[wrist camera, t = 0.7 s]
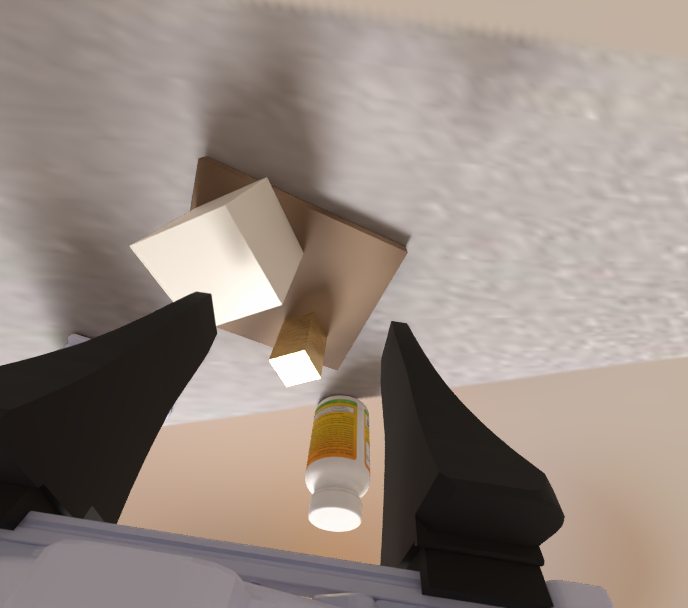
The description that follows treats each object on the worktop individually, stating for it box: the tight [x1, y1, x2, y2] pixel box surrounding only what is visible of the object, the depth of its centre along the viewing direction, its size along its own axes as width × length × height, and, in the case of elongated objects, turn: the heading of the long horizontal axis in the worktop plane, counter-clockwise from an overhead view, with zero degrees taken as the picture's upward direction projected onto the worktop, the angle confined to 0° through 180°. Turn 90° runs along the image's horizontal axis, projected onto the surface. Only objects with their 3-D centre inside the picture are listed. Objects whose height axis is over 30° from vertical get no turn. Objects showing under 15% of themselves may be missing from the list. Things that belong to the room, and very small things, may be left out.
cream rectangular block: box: [130, 177, 304, 326], centre depth 17 cm, size 5×5×7 cm
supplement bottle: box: [305, 395, 370, 532], centre depth 27 cm, size 5×5×10 cm
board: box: [190, 156, 408, 370], centre depth 23 cm, size 14×12×1 cm
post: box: [269, 312, 327, 386], centre depth 22 cm, size 3×3×4 cm
